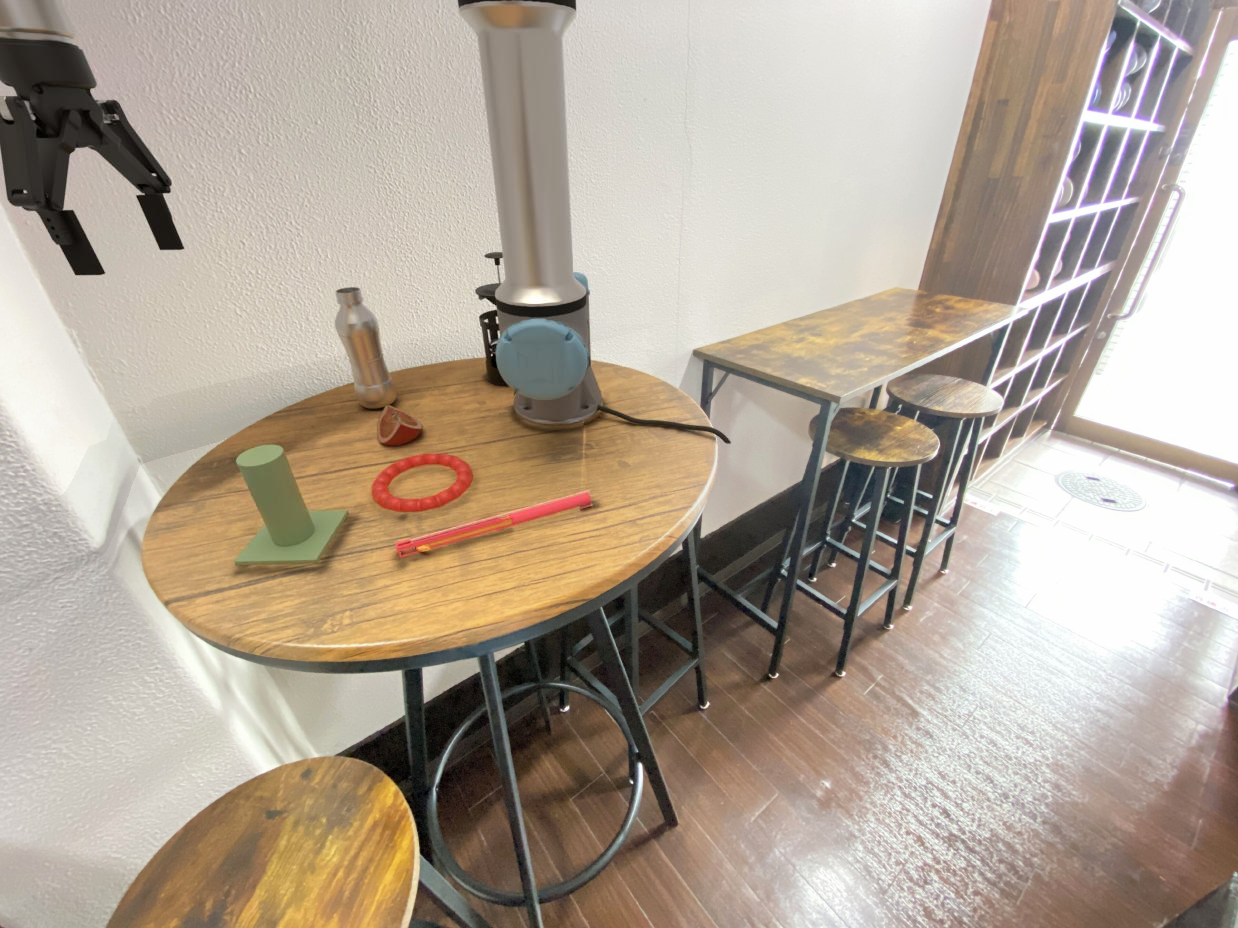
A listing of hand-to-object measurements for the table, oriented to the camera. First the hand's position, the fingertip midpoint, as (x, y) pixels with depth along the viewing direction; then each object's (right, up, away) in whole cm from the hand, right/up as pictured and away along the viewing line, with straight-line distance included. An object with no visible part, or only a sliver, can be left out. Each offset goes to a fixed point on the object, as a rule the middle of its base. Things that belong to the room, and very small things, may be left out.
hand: (135, 261), depth 65 cm
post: (+21, -34, -2) cm, 40 cm away
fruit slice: (+25, -21, +19) cm, 38 cm away
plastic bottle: (+17, -14, +30) cm, 37 cm away
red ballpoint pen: (+45, -33, +1) cm, 55 cm away
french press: (+38, -8, +40) cm, 56 cm away
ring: (+32, -27, +7) cm, 43 cm away
